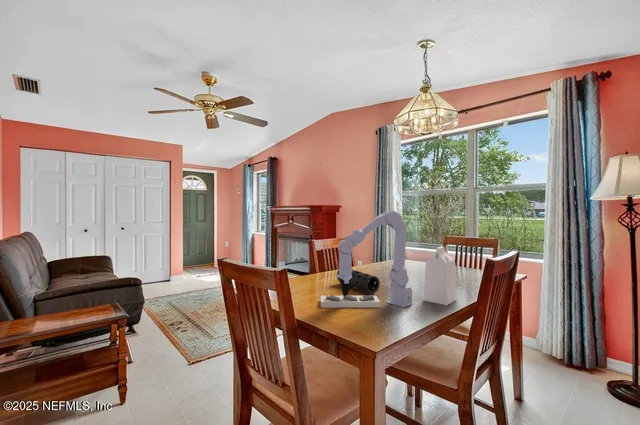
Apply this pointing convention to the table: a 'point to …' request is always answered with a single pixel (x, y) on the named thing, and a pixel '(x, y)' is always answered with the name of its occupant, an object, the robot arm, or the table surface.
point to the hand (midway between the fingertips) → (345, 295)
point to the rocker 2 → (367, 298)
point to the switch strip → (349, 302)
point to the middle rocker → (349, 298)
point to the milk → (440, 278)
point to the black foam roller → (363, 282)
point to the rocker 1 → (332, 298)
